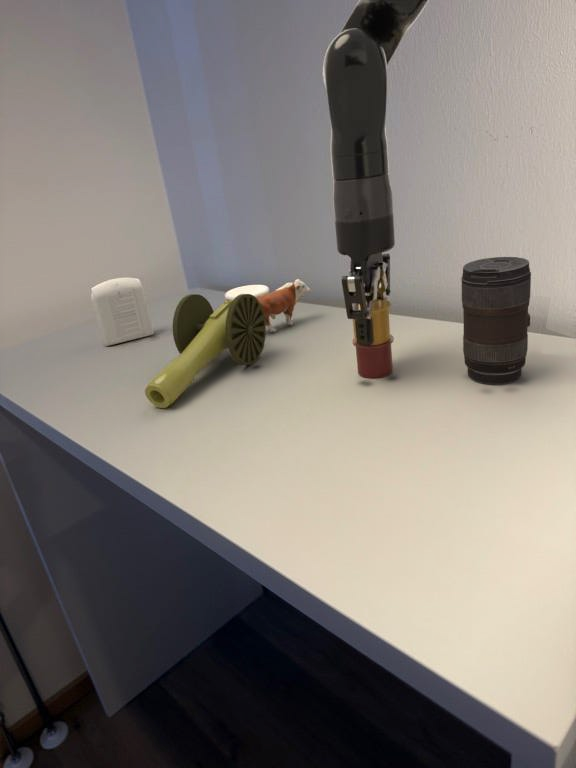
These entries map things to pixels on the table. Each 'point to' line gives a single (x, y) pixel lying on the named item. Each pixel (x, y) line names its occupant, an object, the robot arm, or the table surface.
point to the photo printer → (121, 310)
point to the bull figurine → (282, 301)
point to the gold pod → (379, 322)
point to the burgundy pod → (374, 359)
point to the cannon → (208, 341)
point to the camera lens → (496, 318)
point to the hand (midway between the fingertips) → (372, 336)
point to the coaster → (247, 291)
